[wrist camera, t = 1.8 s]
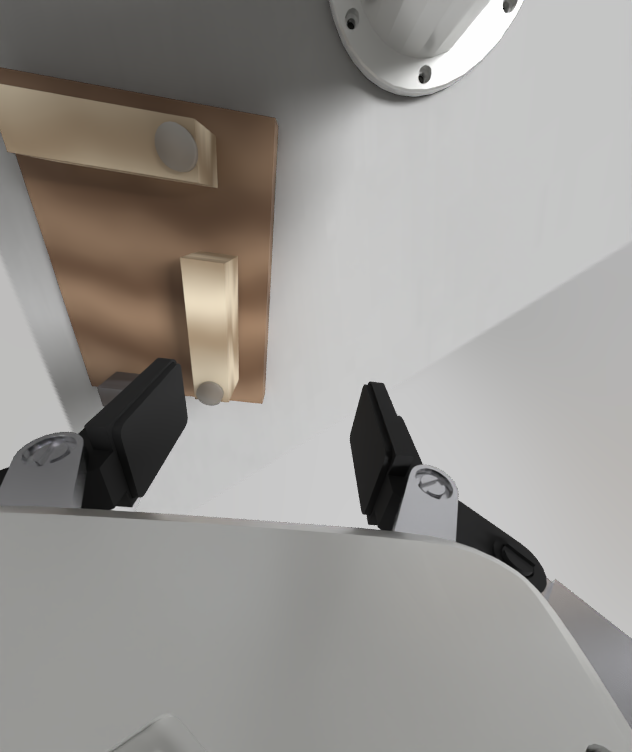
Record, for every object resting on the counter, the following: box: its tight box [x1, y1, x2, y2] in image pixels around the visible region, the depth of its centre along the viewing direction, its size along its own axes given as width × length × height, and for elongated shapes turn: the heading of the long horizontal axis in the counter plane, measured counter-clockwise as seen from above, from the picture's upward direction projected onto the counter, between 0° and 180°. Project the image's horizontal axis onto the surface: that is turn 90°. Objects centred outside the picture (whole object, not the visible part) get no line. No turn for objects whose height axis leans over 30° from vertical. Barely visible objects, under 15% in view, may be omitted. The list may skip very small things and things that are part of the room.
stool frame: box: [0, 67, 278, 406], centre depth 23 cm, size 24×18×7 cm
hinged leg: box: [180, 251, 239, 406], centre depth 24 cm, size 12×3×5 cm, turn 172°
